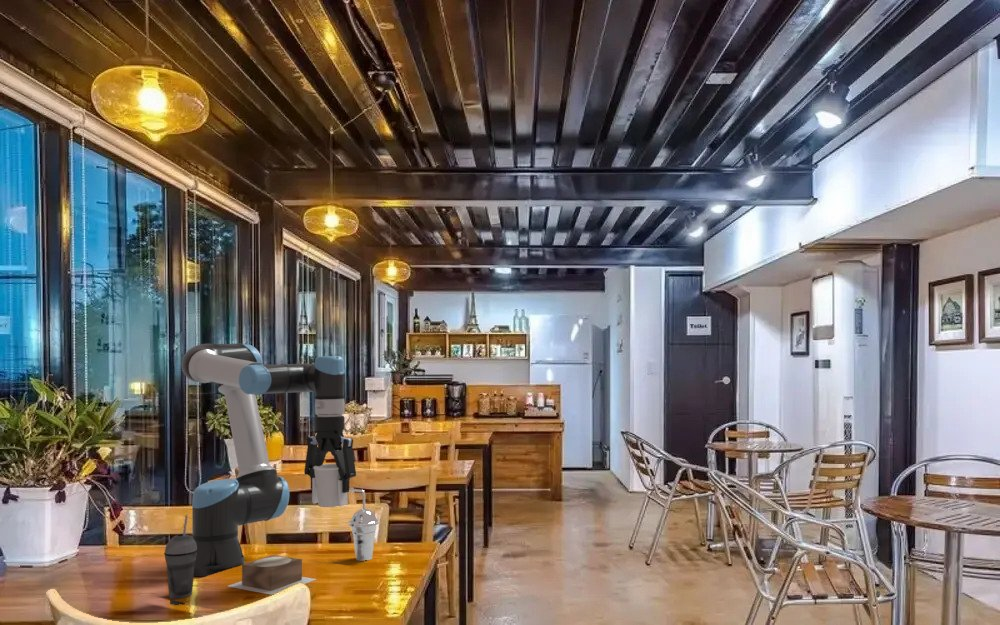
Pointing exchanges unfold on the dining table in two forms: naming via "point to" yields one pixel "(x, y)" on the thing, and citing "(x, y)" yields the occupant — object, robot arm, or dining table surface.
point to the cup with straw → (363, 531)
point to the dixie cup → (327, 484)
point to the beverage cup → (180, 565)
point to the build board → (239, 585)
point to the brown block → (271, 572)
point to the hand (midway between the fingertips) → (329, 503)
